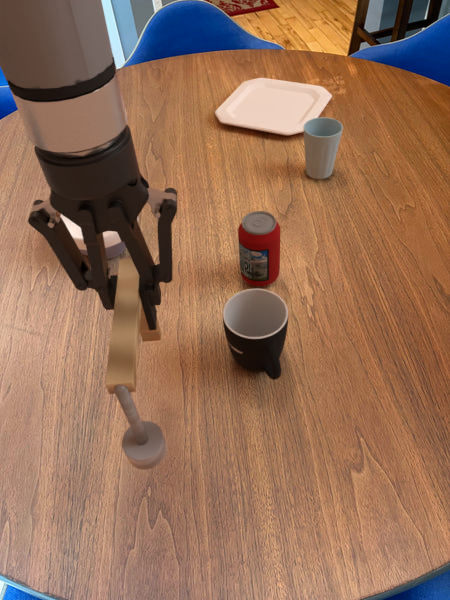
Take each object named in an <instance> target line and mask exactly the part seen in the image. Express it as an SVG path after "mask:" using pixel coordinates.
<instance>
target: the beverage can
mask: <svg viewBox="0 0 450 600" xmlns="http://www.w3.org/2000/svg"><path fill="white" fill-rule="evenodd" d="M241 220H242V221H241V223H240V224H239V226H238V229H237V239H238V241H237V242H238V256H239V267H240V268H239V270H240V276H241V279H242V280H243V282H245V283H246V284H248V285H250V286H252V287H267V286H269V285H271V284H274V283H275V282H276V281H277V280H278V278H279V276H280V271H281V270H280V268H281V267H280V266H281V225H280V224H279V223H278V221H277V219H276V217H275V216H274V215H273V214H272V213H270V212H268V211H263V210H257V211H256V210H255V211H251V212H249V213H247V214H245V216H243V218H242V219H241Z"/></svg>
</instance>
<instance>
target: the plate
mask: <svg viewBox="0 0 450 600" xmlns="http://www.w3.org/2000/svg"><path fill="white" fill-rule="evenodd" d="M332 98H333V95H332V93H330V92H329V91H328V90H327V89H326V88H325V87H324V86H322V85H317V84H310V83H302V82H296V81H295V82H294V81H289V80H282V79H274V78H269V77H258V78H252V79H247V80H245V81H243V82H241V83H240V85H239V86H237V88H236V89H234V91H232V93H231V94H230V95H229V96H228V97H227V98H226V99H225V100H224V101H223V102H222V103H221V104H220V106H218V107H217V109H216V110H214V115H215V117H216V119H217V120H218V122H220V123H221V124H223V125H227V126H234V127H238V128H242V129H243V128H244V129H249V130H255V131H259V132H264V133H269V134H276V135H281V136H292V135H296V134H301V133H304V124H305V123H306V122H307V121H309V120H311V119H314V118H319V117H320V116H321V114H322V112H323V111H324V109H325V108H326V107H327V105H328V104H329V102H330V101H331V100H332Z"/></svg>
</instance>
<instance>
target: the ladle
mask: <svg viewBox="0 0 450 600" xmlns="http://www.w3.org/2000/svg"><path fill="white" fill-rule="evenodd" d="M117 275H118V279H117V287H116V295H115V304H114V310H113V314H112V321H111V330H110V331H111V332H110V340H109V348H108V355H107V366H106V375H105V382H104V385H105V387H106V389H107V392H108V394H109V395H114V394H115V396H116V398H117V400H118V403H119V405H120V408H121V410H122V412H123V414H124V416H125V418H126V420H127V423H128V425H129V427H128V428H127V429H126V430H125V432H124V434H123V436H122V439H121V447H122V450H123V453H124V454H125V456H126V458H127V460H128V463H130V465H131V466H132V467H134V468H136V469H139V470H142V471H143V470H150V469H154V468H156V467H157V466H159V465H160V464H161V463H162V462H163V461H164V460H165V457H166V455H167V451H168V444H167V441H166V438H165V435H164V432H163V430H162V428H161V426H159V425H158V423H156V422H154V421H150V420H142V419H141V417H140V413H139V411H138V408H137V407H136V406H137V405H136V404H135V402H134V400H133V396H132V394H131V393H134V392H135V393H136V391H137V379H138V378H137V377H138V364H139V363H138V362H139V349H140V348H139V347H140V337H141V342H143V343H144V342H154V341H155V342H156V341H161V340H162V331H161V327H160V324H159V320H158V318H157V319H156V330H150V331H149V327H148V324H147V320H146V317H145V313H144V310H143V307H142V303H141V299H140V296H139V293H138V287H139V274H138V272H137V269H136V267H135V265H134V263H133V261H132V259H131V257H129V258H120V259H119V262H118V271H117Z"/></svg>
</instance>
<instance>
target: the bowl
mask: <svg viewBox="0 0 450 600" xmlns="http://www.w3.org/2000/svg"><path fill="white" fill-rule="evenodd" d="M60 214H61V213H60ZM60 217H61V218H62V220H63V221H64V223H65V225H66V227H67V228H68V230H69V232H70V234H71V235H72V237H73V239H74V241H75V243H76V244H77V246H78V248H79V250H80V252H81V253H82V255H83V256H84V255H85V256H87V257H88V253H87V249H86V244H84V241H83V236H82V232H81V228H80V227H79V226H78V225H76V224H75V223H73V222H72V221H70V220H69V219H68V218H66V217H65V216H63V215H62V214H61V216H60ZM137 221H138V222H139V216H138V217H137ZM103 238H104V244H105V250H106V256H107V260H109V259H113V258H115V257H118V256H119V255H122V253H123V252H125V251H126V250H127V248H126V246H125V243H124V242H122V241H121V239H120V237H119V235H118V233H117V232H114V231H106V232H103Z"/></svg>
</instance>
